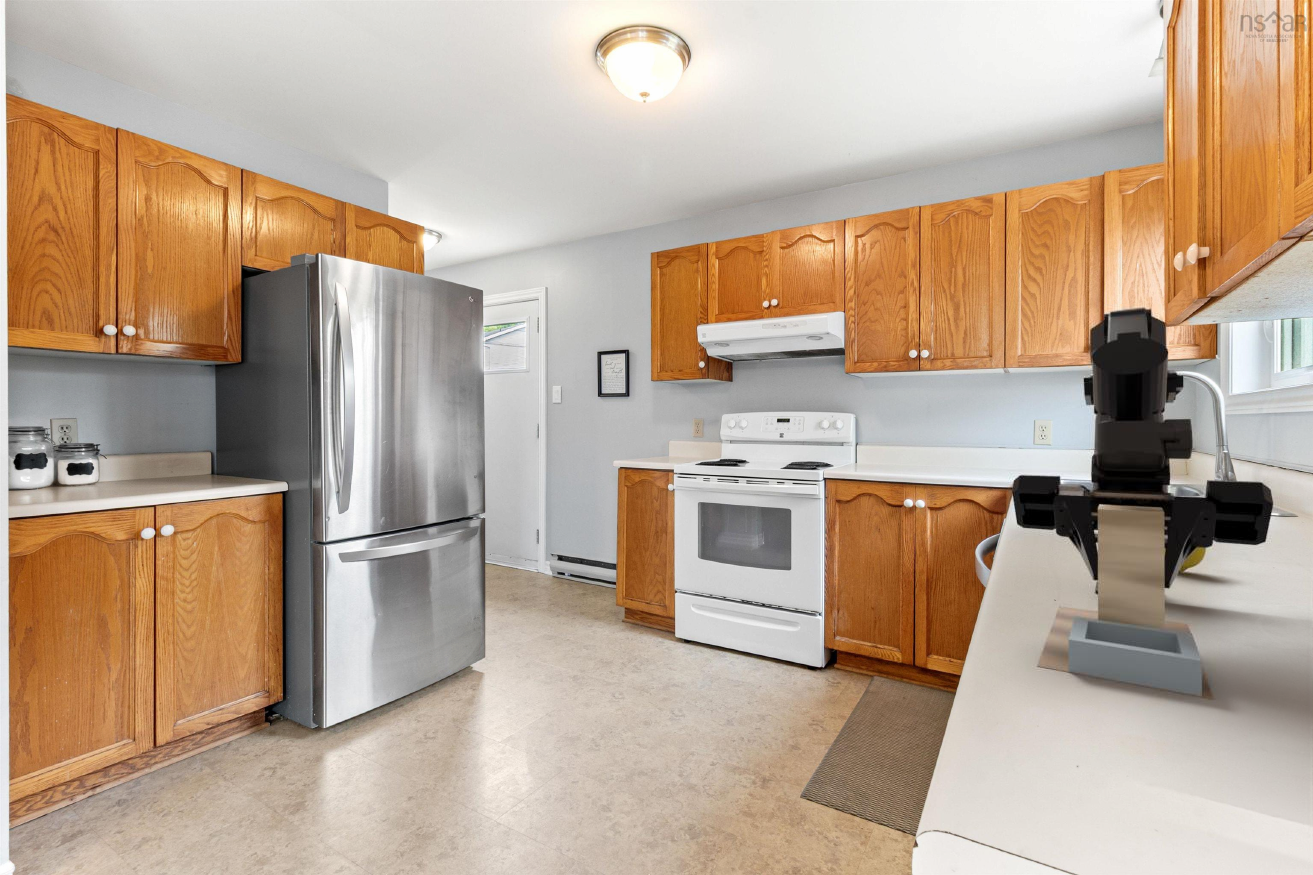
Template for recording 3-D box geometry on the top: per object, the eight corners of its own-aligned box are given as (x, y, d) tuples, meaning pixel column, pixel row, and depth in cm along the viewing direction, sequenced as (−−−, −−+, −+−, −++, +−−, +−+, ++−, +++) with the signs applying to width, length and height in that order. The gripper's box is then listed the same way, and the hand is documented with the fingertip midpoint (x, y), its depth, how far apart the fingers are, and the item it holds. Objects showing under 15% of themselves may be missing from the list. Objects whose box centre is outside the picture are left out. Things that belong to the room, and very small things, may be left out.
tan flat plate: (1059, 615, 67) (1059, 606, 67) (1187, 633, 61) (1187, 623, 61) (1037, 678, 49) (1037, 665, 49) (1213, 713, 43) (1213, 699, 43)
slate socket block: (1074, 644, 54) (1074, 616, 54) (1191, 664, 50) (1191, 633, 50) (1068, 671, 48) (1068, 639, 48) (1201, 696, 43) (1201, 660, 44)
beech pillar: (1099, 633, 58) (1099, 504, 58) (1162, 642, 55) (1161, 507, 55) (1098, 645, 54) (1097, 508, 54) (1164, 656, 51) (1164, 512, 51)
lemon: (1155, 566, 92) (1155, 513, 92) (1205, 571, 89) (1204, 516, 89) (1154, 573, 88) (1154, 516, 88) (1207, 578, 85) (1206, 520, 85)
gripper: (1014, 395, 63) (997, 514, 55) (1268, 386, 52) (1298, 533, 43) (1024, 469, 70) (1010, 586, 61) (1253, 475, 58) (1276, 619, 50)
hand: (1130, 581), depth 53 cm, fingers closed on beech pillar, 4 cm apart
